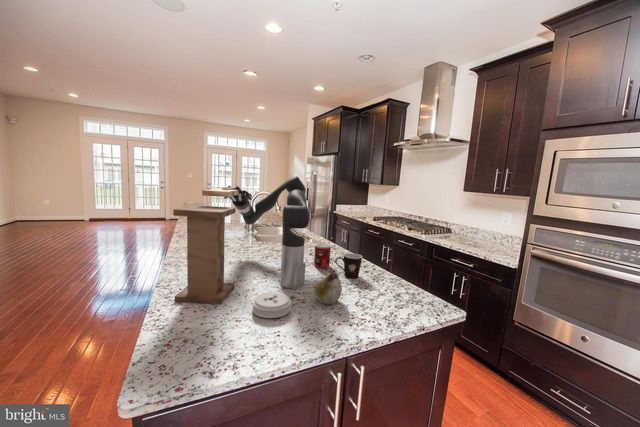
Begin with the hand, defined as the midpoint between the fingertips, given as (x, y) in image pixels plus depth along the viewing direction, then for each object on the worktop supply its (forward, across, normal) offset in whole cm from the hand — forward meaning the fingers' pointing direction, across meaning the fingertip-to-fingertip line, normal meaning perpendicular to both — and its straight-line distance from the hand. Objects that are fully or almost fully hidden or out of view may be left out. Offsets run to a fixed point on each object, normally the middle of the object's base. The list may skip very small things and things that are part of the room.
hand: (232, 187), depth 123 cm
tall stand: (+6, 0, +47) cm, 48 cm away
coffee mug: (-19, +55, +34) cm, 68 cm away
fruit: (+6, +45, +48) cm, 66 cm away
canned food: (-29, +43, +28) cm, 59 cm away
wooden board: (+5, 0, +6) cm, 8 cm away
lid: (+13, +26, +52) cm, 60 cm away
